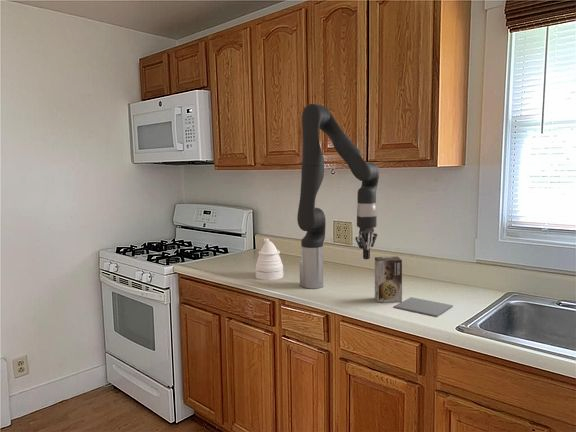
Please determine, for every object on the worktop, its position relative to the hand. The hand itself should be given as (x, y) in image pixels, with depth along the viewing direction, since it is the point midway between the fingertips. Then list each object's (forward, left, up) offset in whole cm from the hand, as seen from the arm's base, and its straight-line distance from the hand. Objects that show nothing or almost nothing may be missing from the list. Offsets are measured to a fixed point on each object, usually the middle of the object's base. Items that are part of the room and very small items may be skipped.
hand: (366, 258), depth 172 cm
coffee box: (+9, 0, -15) cm, 18 cm away
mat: (+23, 0, -15) cm, 28 cm away
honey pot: (-51, -1, -15) cm, 53 cm away
